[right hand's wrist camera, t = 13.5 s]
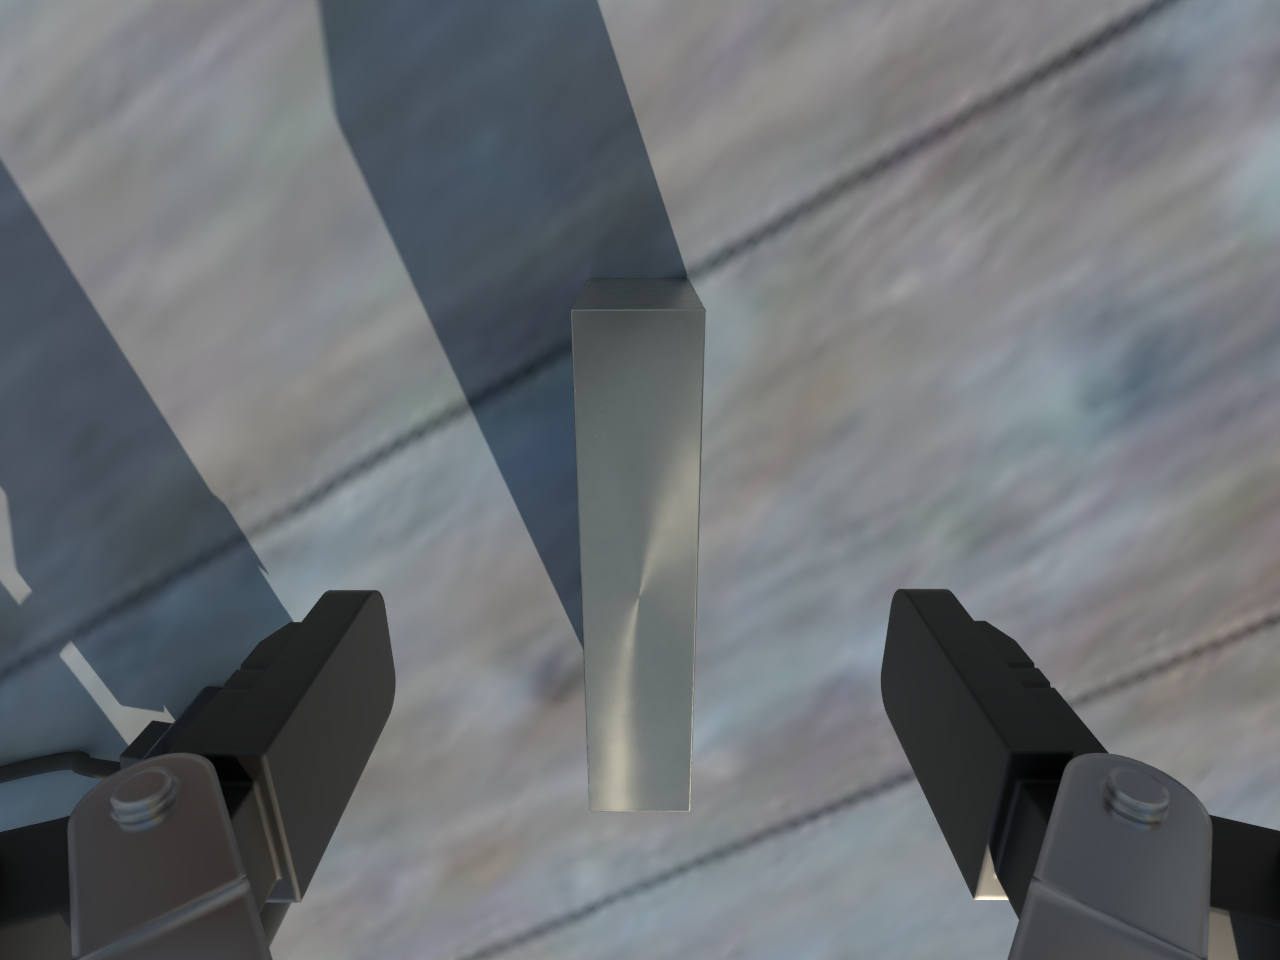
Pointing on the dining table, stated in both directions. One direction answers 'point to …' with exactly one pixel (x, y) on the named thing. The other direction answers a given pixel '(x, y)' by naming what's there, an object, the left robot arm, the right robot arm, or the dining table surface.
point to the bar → (638, 533)
